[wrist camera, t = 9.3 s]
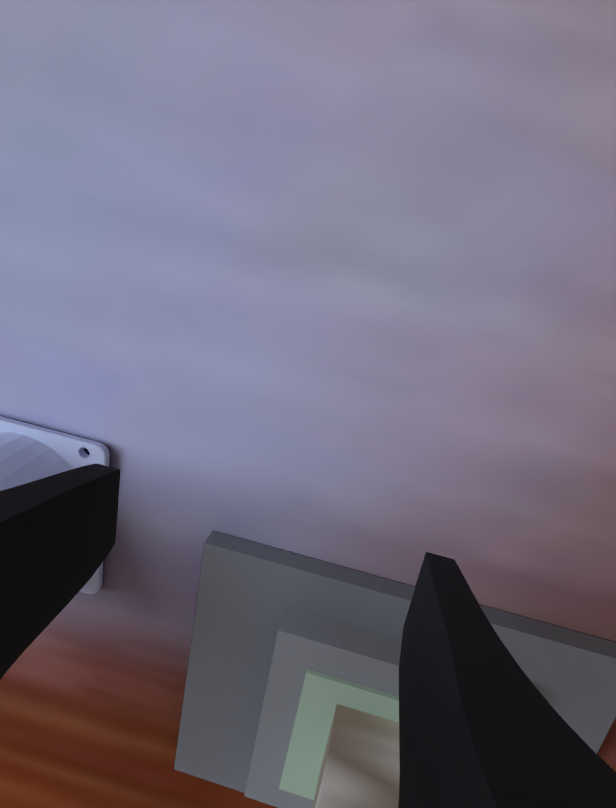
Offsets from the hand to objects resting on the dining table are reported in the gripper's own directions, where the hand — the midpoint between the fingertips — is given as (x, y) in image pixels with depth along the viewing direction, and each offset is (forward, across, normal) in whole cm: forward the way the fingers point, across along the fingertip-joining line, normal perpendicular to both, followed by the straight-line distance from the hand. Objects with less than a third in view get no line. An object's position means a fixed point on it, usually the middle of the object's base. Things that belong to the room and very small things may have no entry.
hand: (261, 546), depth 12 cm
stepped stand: (+10, -5, +14) cm, 18 cm away
